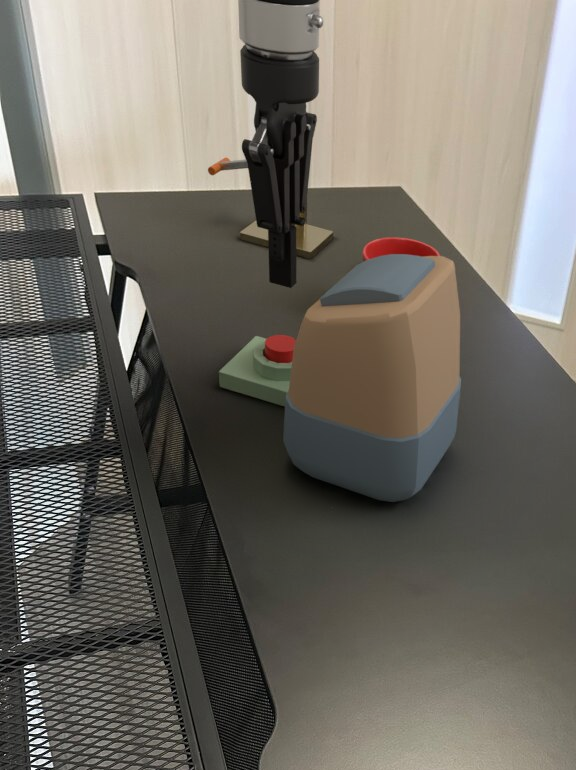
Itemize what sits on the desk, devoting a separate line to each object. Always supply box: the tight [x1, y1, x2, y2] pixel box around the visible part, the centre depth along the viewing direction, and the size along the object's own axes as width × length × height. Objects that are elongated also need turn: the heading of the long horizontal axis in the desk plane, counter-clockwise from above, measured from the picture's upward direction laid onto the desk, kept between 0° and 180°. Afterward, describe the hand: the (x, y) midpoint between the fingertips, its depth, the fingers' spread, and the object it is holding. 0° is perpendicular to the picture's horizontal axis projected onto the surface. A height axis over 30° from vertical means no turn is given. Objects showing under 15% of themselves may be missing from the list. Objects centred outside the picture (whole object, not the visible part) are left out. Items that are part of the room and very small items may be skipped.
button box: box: [218, 335, 292, 408], centre depth 107 cm, size 12×10×4 cm
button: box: [265, 334, 296, 363], centre depth 105 cm, size 4×4×2 cm
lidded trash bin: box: [282, 254, 462, 503], centre depth 91 cm, size 17×17×23 cm
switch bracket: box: [239, 201, 334, 260], centre depth 132 cm, size 12×9×14 cm
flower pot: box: [361, 236, 441, 262], centre depth 120 cm, size 11×11×10 cm
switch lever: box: [207, 157, 248, 176], centre depth 130 cm, size 14×5×2 cm, turn 72°
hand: (282, 282), depth 99 cm, fingers closed
